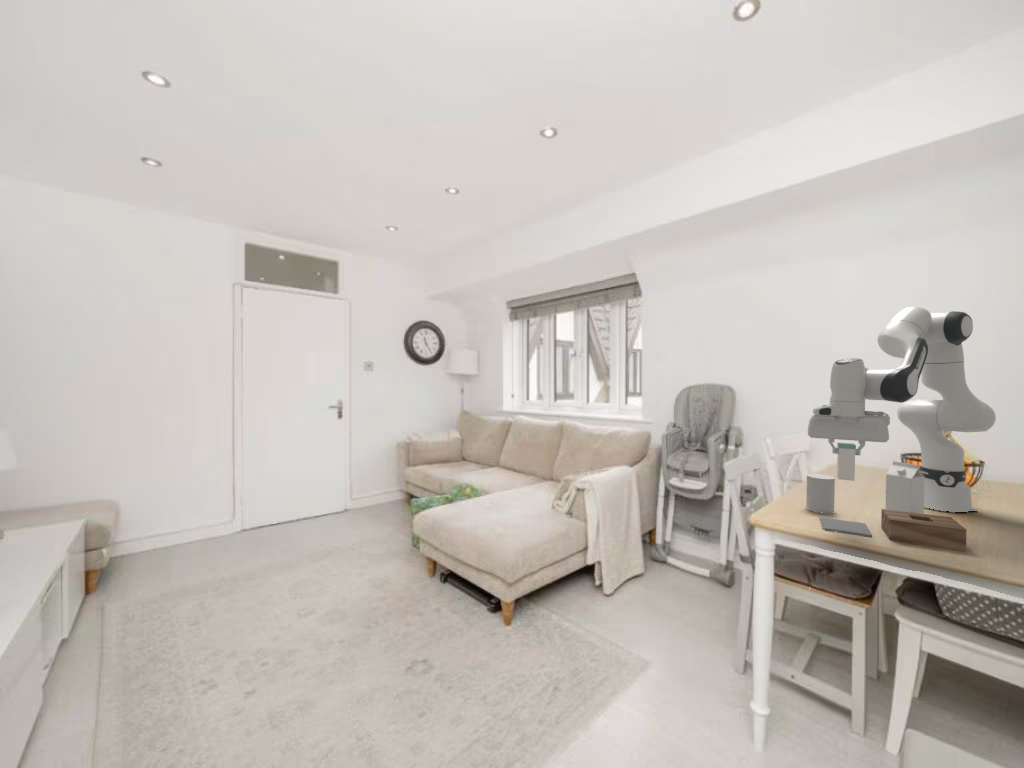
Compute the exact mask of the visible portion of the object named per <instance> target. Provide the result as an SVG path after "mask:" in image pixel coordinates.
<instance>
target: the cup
mask: <svg viewBox="0 0 1024 768" xmlns="http://www.w3.org/2000/svg"><path fill="white" fill-rule="evenodd" d="M835 479H836V478H835V477H834V476H832V475H827V474H821V473H807V474H806V500H805V501H806V502H805V503H806V504H805V505H806V506H805V507H807V508H808V509H810V510H813V511H812V512H814V511H816V512H815V513H818V512H823V513H822V514H834V513H835V485H836V484H835V483H836V481H835ZM807 508H806V509H807ZM808 509H807V510H808ZM810 510H809V511H810ZM833 512H834V513H833Z"/></svg>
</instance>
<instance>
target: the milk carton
mask: <svg viewBox="0 0 1024 768" xmlns="http://www.w3.org/2000/svg"><path fill="white" fill-rule="evenodd" d="M919 469H920V466H919V464H912V463H906V462H901V461H900V462H899V461H895V460H894V461H892V465H891V466H890V467H889V469H888V470H887V472H886V473H885V474H886V475H885V509H889V510H897V511H905V512H913V513H921V514H925V511H924V510H925V507H924V481H925V476H924V475H923V474H922V472H921V471H920V470H919Z"/></svg>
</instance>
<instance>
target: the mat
mask: <svg viewBox="0 0 1024 768" xmlns="http://www.w3.org/2000/svg"><path fill="white" fill-rule="evenodd" d="M820 521H821V522H820ZM819 522H820V525H821V524H822V525H821V528H822V527H823V528H822V530H823V529H825V530H824V531H827V530H830V531H829V532H834V531H837V532H836V533H841V532H842V534H849V535H856V536H862V537H868V538H873V534H872V532H871V531H870V529H869V528H868V525H867V524H866V523H865V522H858V521H850V520H845V519H844V520H842V519H836V518H831V517H830V518H828V517H824V516H823V517H821V516H820V517H819Z"/></svg>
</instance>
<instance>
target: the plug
mask: <svg viewBox="0 0 1024 768" xmlns="http://www.w3.org/2000/svg"><path fill="white" fill-rule="evenodd" d="M836 446H837V448H839V451H838V452H839V454H837V457H836V458H837V459H836V462H837V463H836V478H837V480H843V481H850V482H851V481H852V482H854V481H855V471H856V455H855V449H857V446H856V444H855V443H850V442H849V443H848V442H838V441H837V443H836Z"/></svg>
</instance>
